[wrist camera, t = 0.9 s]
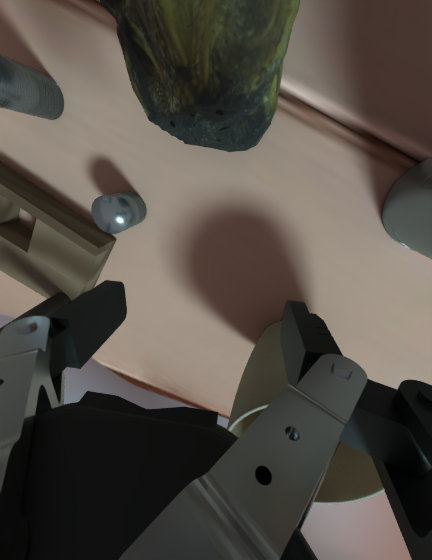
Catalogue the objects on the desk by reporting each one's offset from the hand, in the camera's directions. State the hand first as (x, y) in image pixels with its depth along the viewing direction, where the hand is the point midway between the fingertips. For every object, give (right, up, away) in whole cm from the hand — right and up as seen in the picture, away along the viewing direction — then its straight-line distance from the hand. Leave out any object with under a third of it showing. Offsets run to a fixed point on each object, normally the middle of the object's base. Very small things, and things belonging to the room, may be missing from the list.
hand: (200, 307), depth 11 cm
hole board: (-23, +8, +21) cm, 32 cm away
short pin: (-10, +10, +18) cm, 23 cm away
